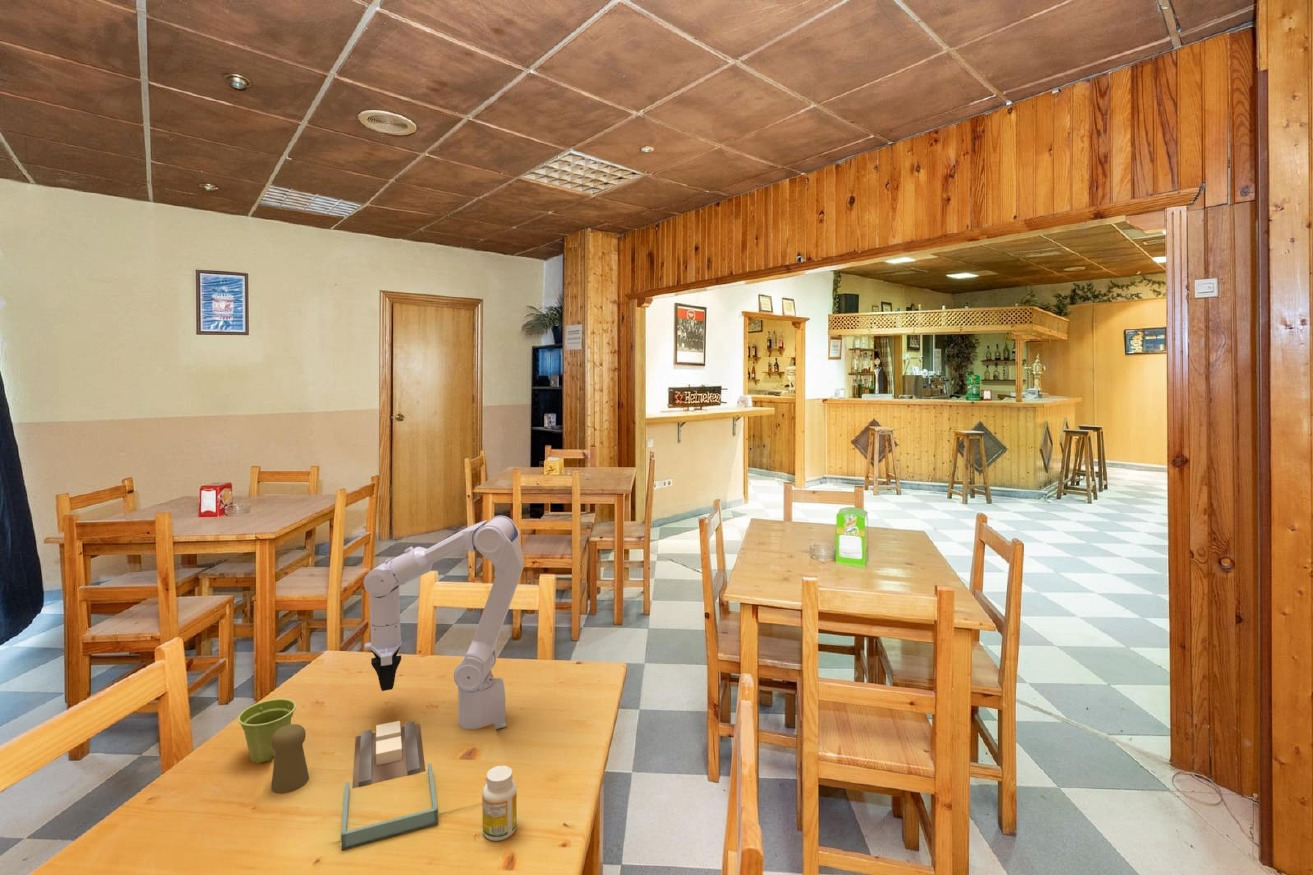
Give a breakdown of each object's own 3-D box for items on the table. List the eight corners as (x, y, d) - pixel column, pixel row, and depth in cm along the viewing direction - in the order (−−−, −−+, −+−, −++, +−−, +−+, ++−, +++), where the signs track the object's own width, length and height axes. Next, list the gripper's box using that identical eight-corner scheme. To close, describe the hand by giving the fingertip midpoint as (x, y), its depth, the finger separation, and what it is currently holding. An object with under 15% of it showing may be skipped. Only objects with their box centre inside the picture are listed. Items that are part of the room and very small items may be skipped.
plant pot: (308, 747, 120) (306, 705, 119) (260, 775, 111) (258, 729, 111) (277, 735, 124) (276, 694, 123) (228, 761, 115) (226, 717, 114)
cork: (292, 801, 104) (289, 740, 103) (261, 796, 105) (259, 736, 105) (318, 779, 110) (315, 721, 109) (289, 775, 111) (286, 717, 110)
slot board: (420, 728, 127) (419, 719, 127) (425, 776, 111) (425, 766, 111) (355, 741, 122) (355, 732, 122) (352, 793, 106) (352, 783, 106)
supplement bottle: (495, 847, 95) (494, 788, 94) (475, 830, 98) (474, 774, 97) (523, 828, 99) (523, 772, 98) (503, 813, 102) (503, 758, 101)
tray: (431, 776, 111) (431, 763, 111) (438, 824, 99) (437, 809, 99) (345, 796, 106) (345, 782, 105) (341, 850, 94) (341, 835, 93)
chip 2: (401, 747, 119) (400, 736, 118) (402, 759, 115) (401, 748, 114) (376, 752, 117) (376, 741, 117) (376, 765, 113) (375, 754, 113)
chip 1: (400, 730, 124) (400, 720, 124) (400, 742, 120) (400, 731, 120) (376, 735, 122) (376, 725, 122) (376, 747, 118) (376, 737, 118)
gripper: (364, 612, 132) (366, 672, 133) (363, 637, 119) (365, 704, 120) (400, 607, 135) (401, 666, 136) (402, 632, 122) (404, 697, 123)
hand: (387, 684), depth 128 cm, fingers open, 4 cm apart
